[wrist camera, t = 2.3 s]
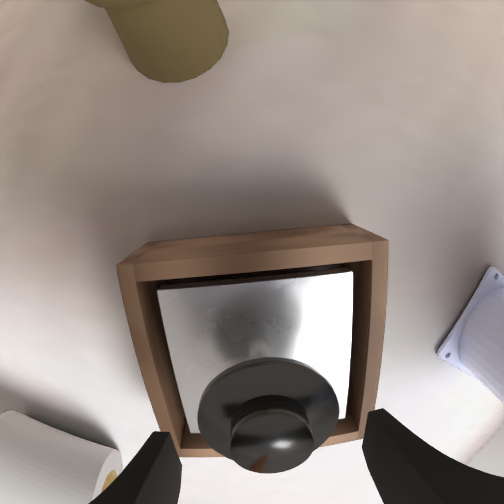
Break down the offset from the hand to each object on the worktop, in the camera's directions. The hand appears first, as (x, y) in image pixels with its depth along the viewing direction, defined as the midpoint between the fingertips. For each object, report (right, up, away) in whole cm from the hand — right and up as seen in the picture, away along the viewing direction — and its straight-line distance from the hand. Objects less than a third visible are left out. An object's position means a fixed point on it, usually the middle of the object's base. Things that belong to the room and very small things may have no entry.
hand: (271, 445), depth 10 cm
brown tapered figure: (-5, +20, +6) cm, 21 cm away
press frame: (0, +2, +10) cm, 10 cm away
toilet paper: (-17, -11, +12) cm, 24 cm away
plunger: (0, +2, +7) cm, 7 cm away
